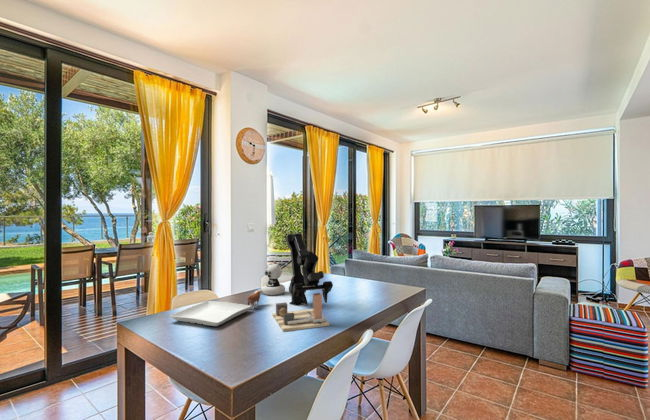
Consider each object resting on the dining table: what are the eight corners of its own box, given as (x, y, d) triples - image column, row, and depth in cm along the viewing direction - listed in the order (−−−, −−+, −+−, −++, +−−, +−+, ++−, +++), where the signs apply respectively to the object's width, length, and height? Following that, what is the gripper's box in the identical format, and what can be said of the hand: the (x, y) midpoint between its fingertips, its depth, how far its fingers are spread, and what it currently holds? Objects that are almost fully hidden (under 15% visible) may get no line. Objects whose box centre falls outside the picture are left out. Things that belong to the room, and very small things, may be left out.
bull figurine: (264, 303, 183) (264, 288, 183) (251, 310, 170) (251, 294, 170) (258, 302, 184) (257, 287, 184) (244, 309, 172) (244, 293, 172)
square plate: (168, 323, 152) (168, 315, 152) (208, 307, 178) (208, 299, 178) (217, 330, 143) (217, 321, 143) (252, 312, 168) (252, 304, 168)
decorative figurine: (256, 293, 204) (255, 261, 204) (272, 289, 216) (272, 258, 216) (273, 297, 195) (273, 263, 195) (290, 292, 207) (289, 260, 207)
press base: (272, 315, 161) (272, 303, 161) (313, 310, 168) (313, 299, 168) (283, 331, 140) (282, 317, 140) (329, 325, 147) (329, 311, 147)
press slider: (282, 322, 148) (282, 295, 148) (321, 317, 154) (321, 292, 154) (286, 326, 142) (285, 299, 142) (325, 321, 148) (325, 295, 148)
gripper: (293, 266, 153) (300, 296, 142) (331, 264, 159) (340, 292, 149) (289, 280, 160) (295, 309, 149) (325, 277, 166) (334, 305, 156)
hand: (316, 303), depth 151 cm, fingers open, 9 cm apart
